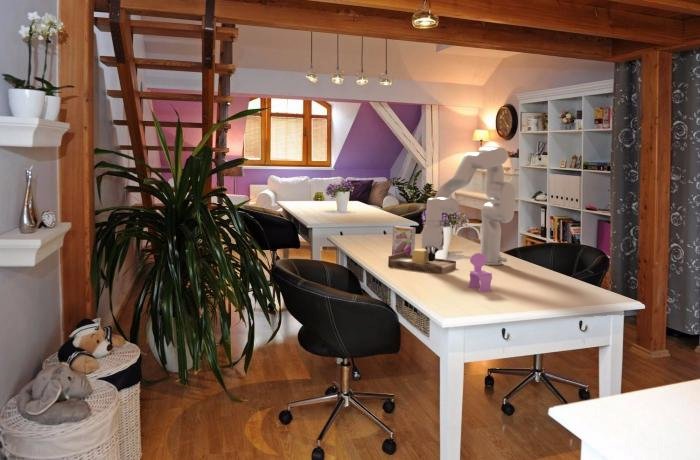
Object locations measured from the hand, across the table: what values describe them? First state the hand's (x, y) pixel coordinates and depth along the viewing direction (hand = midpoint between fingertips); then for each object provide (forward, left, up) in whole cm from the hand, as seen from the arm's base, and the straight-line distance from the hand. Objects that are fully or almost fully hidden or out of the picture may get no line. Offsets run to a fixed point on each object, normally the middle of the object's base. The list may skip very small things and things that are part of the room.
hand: (431, 261), depth 293 cm
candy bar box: (+24, -17, -4) cm, 30 cm away
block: (+6, 0, -1) cm, 6 cm away
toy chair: (-34, +27, -4) cm, 43 cm away
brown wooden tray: (+5, 0, -4) cm, 6 cm away
